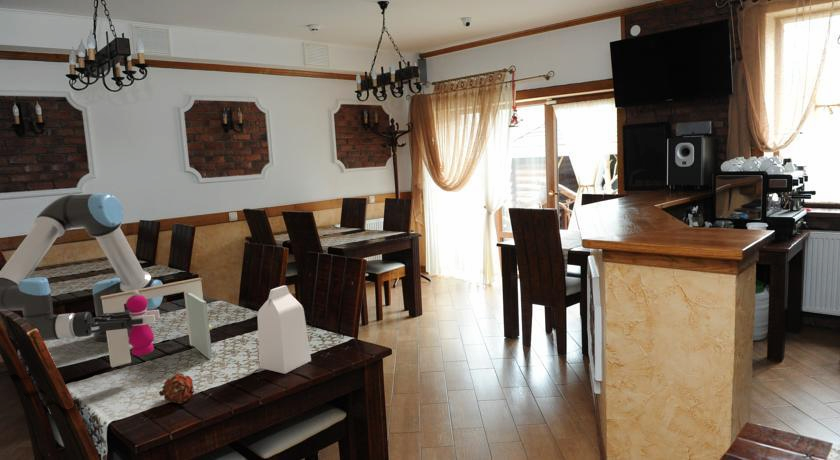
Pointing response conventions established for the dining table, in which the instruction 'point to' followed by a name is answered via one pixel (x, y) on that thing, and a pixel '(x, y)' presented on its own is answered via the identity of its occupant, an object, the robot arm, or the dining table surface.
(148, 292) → the door frame
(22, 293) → the robot arm
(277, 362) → the milk
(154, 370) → the dining table surface
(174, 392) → the dragon fruit
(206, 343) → the door
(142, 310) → the pepper mill
